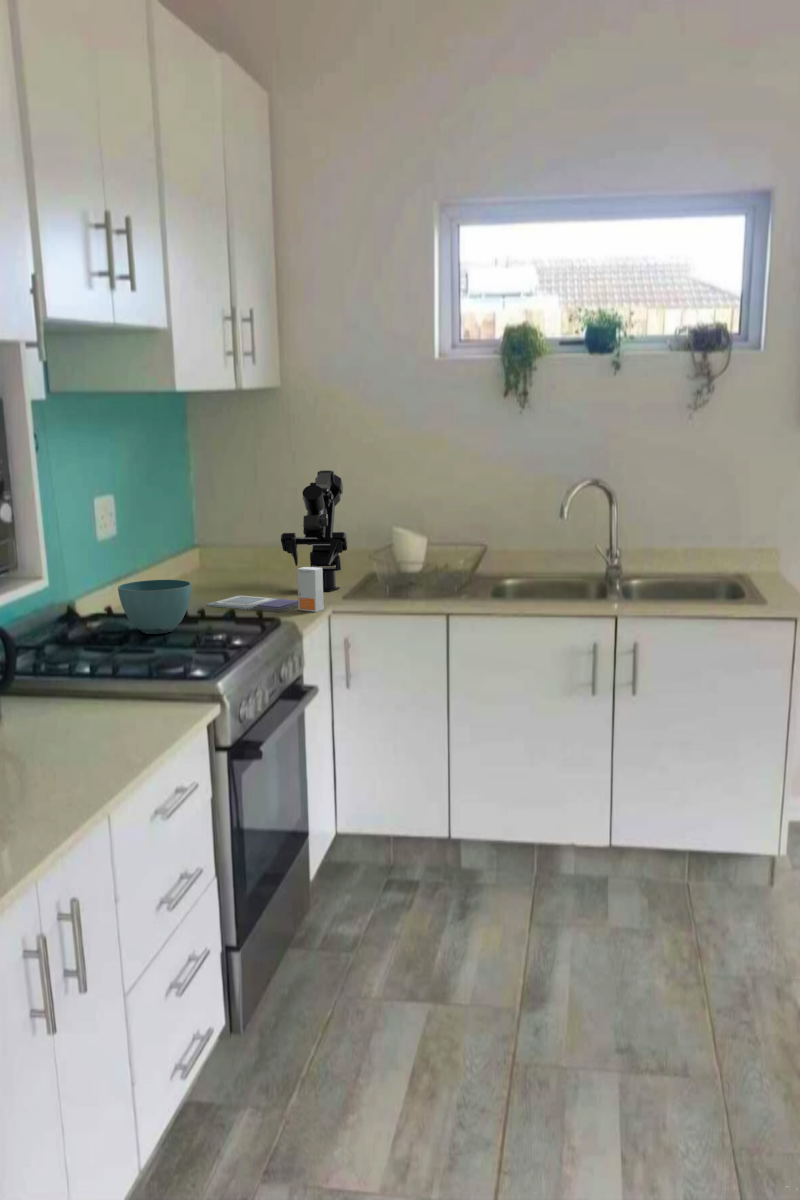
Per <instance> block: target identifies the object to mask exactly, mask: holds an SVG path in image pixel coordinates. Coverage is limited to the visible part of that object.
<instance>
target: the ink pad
mask: <svg viewBox="0 0 800 1200" xmlns="http://www.w3.org/2000/svg"><path fill="white" fill-rule="evenodd" d="M276 599H277V600H273V601H269V602H266V603H262V604H259V605H257V606H254V608H253V610H254V611H261V610H262V612H263V611H264V612H273V613H281V612H284V611H289V610H292V609H295V608H298V599H297V600H295V599H284V598H276Z"/></svg>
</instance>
